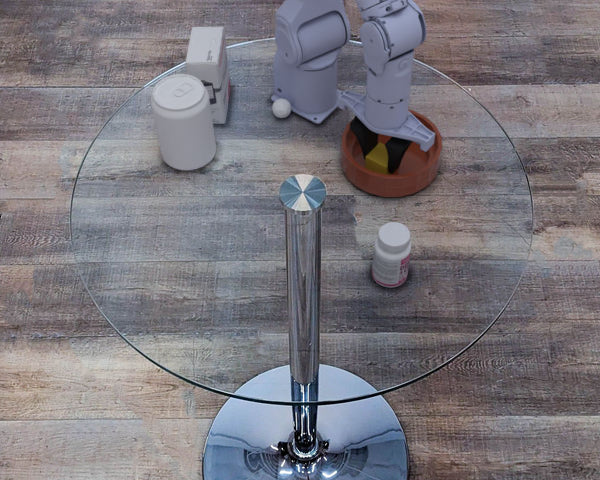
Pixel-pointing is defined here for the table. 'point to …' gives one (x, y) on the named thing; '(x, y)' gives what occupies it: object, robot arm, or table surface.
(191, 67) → the ink box
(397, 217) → the table surface
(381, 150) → the cube
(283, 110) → the white ball
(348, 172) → the bowl
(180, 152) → the beverage can
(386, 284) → the pill bottle
